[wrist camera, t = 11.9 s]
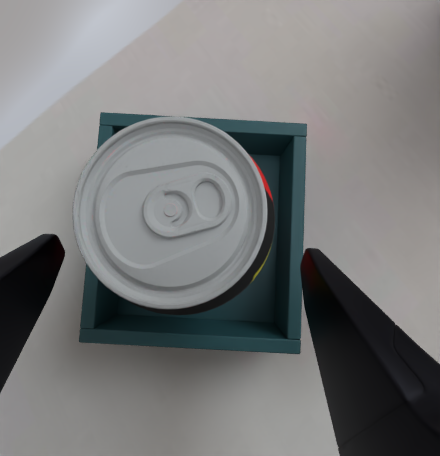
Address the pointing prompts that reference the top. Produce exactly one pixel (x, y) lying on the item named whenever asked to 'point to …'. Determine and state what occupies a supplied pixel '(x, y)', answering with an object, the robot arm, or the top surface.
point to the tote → (256, 291)
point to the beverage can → (173, 216)
